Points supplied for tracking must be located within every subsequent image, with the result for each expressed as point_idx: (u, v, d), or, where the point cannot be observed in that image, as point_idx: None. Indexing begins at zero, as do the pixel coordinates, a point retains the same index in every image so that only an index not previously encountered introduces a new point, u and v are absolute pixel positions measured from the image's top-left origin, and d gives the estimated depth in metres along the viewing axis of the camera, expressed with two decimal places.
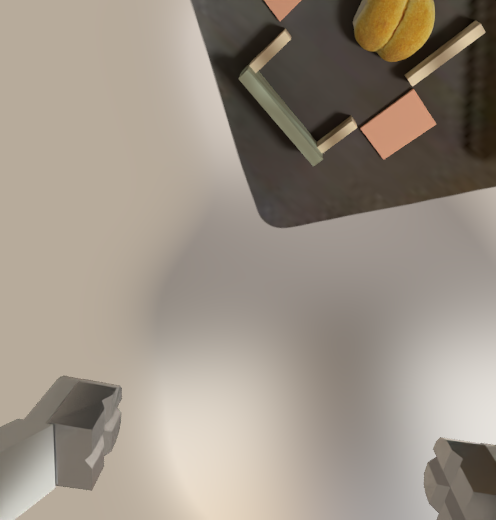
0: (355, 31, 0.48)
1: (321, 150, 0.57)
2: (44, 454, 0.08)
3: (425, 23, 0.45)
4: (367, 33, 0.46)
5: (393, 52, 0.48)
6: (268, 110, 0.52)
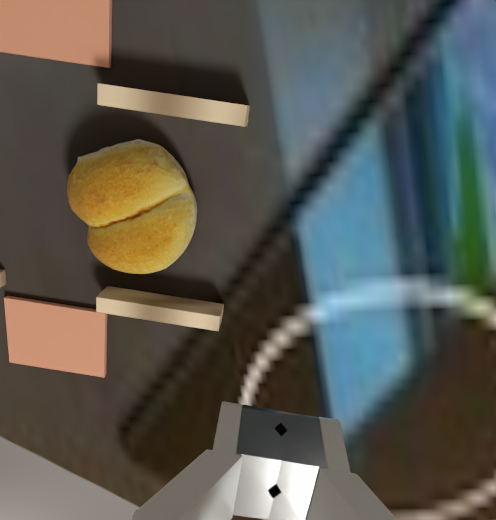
0: (71, 171, 0.26)
1: None
2: (233, 485, 0.08)
3: (156, 252, 0.26)
4: (76, 190, 0.25)
5: (96, 247, 0.27)
6: None
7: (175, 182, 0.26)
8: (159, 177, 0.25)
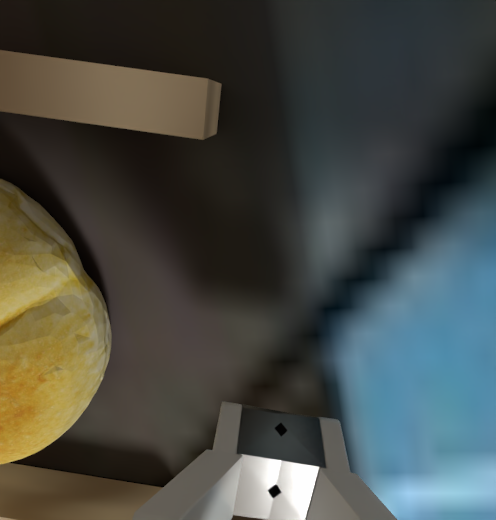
0: None
1: None
2: (233, 485, 0.08)
3: (1, 443, 0.11)
4: None
5: None
6: None
7: (38, 275, 0.10)
8: None
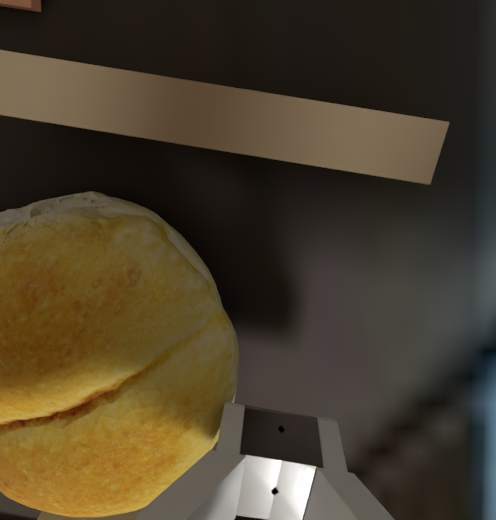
0: None
1: None
2: (237, 486, 0.08)
3: (137, 494, 0.10)
4: None
5: None
6: None
7: (190, 313, 0.09)
8: (145, 310, 0.09)
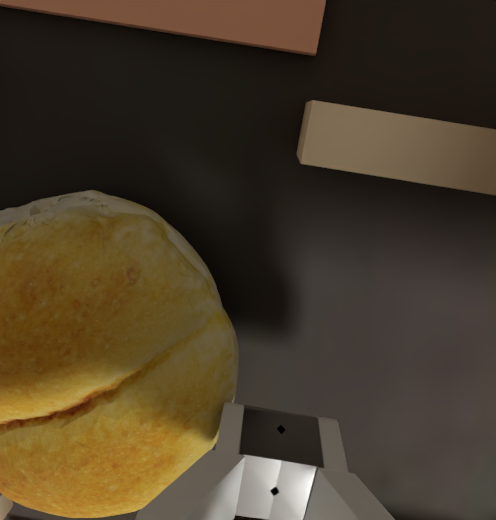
0: None
1: None
2: (236, 485, 0.08)
3: (136, 495, 0.10)
4: None
5: None
6: None
7: (189, 313, 0.09)
8: (145, 309, 0.09)
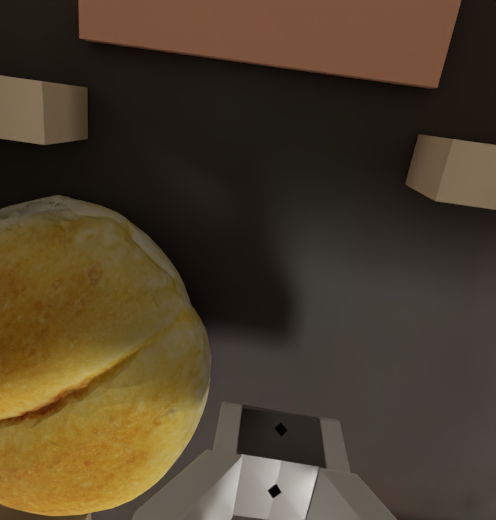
0: None
1: None
2: (233, 485, 0.08)
3: (110, 491, 0.10)
4: None
5: None
6: None
7: (154, 311, 0.10)
8: (107, 309, 0.09)
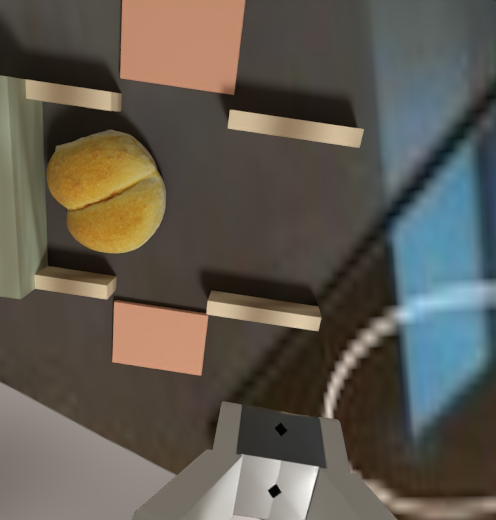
0: (50, 159, 0.29)
1: (37, 283, 0.32)
2: (233, 485, 0.08)
3: (128, 231, 0.29)
4: (54, 175, 0.28)
5: (74, 228, 0.29)
6: None
7: (144, 167, 0.28)
8: (129, 162, 0.28)
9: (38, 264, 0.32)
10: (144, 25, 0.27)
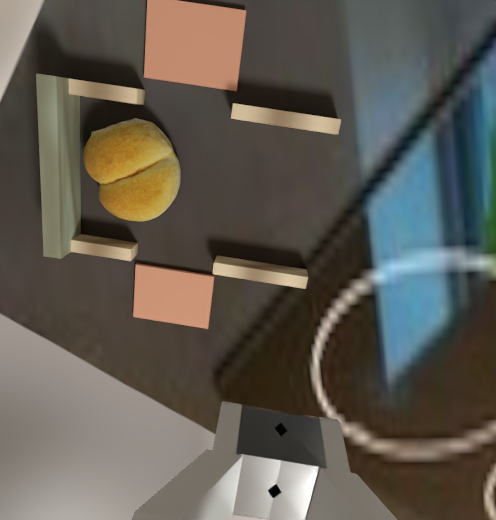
0: (87, 142, 0.35)
1: (73, 247, 0.39)
2: (233, 485, 0.08)
3: (150, 202, 0.35)
4: (91, 155, 0.34)
5: (105, 199, 0.36)
6: (42, 145, 0.33)
7: (163, 149, 0.35)
8: (151, 144, 0.34)
9: (74, 231, 0.39)
10: (164, 34, 0.33)
